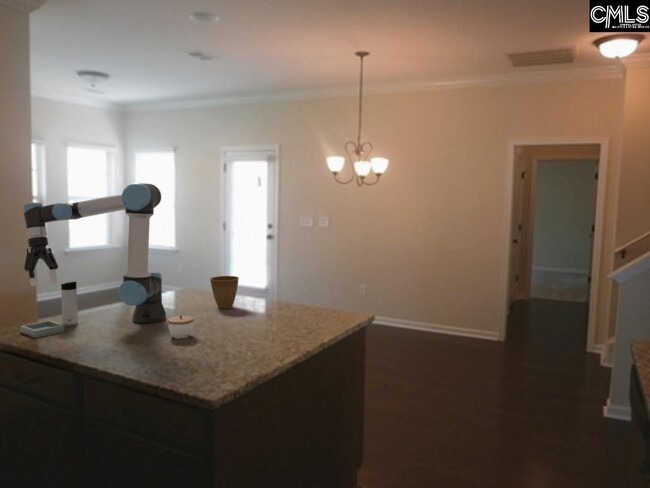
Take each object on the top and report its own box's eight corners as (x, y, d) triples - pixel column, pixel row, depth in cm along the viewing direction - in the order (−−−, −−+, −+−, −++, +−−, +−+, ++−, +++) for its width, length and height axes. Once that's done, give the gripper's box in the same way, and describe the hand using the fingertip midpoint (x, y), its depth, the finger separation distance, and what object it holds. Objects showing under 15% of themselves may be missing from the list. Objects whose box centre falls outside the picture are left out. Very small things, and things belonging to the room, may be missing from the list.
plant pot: (229, 303, 272) (229, 274, 270) (244, 307, 261) (244, 278, 259) (205, 306, 262) (205, 277, 260) (219, 311, 251) (219, 281, 249)
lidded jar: (199, 334, 210) (199, 313, 209) (184, 341, 200) (184, 319, 199) (178, 332, 213) (177, 311, 212) (162, 338, 203) (162, 316, 202)
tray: (64, 331, 212) (64, 325, 211) (35, 337, 202) (34, 331, 202) (49, 326, 219) (49, 320, 219) (20, 332, 209) (20, 325, 209)
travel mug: (72, 327, 218) (70, 283, 216) (59, 326, 220) (57, 282, 218) (81, 323, 225) (80, 280, 223) (69, 322, 226) (67, 280, 224)
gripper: (46, 239, 230) (53, 284, 229) (9, 238, 205) (17, 287, 204) (62, 237, 229) (68, 281, 229) (27, 235, 204) (34, 285, 204)
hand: (44, 284), depth 216 cm, fingers open, 13 cm apart
